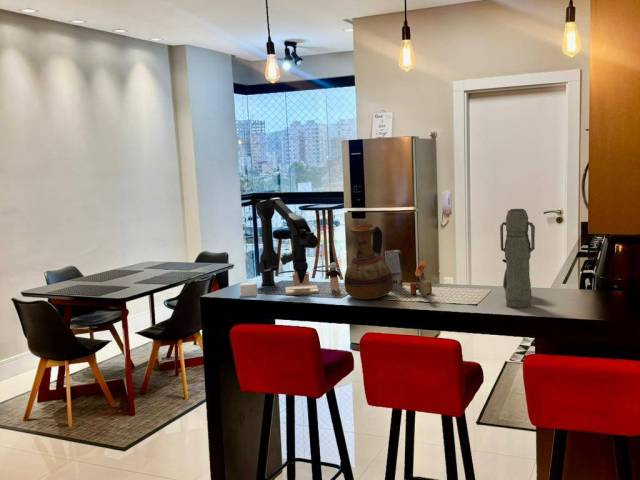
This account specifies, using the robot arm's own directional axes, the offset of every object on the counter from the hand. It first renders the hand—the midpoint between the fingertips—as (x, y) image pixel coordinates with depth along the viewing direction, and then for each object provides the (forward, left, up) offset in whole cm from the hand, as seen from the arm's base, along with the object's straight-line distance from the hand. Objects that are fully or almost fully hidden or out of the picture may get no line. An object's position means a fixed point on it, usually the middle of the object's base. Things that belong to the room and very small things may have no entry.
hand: (301, 282), depth 273 cm
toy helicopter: (+28, +48, -4) cm, 56 cm away
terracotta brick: (0, 0, -1) cm, 1 cm away
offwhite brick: (0, -23, -4) cm, 23 cm away
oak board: (0, 0, -4) cm, 4 cm away
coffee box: (+7, +40, -4) cm, 41 cm away
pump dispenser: (+38, +82, -4) cm, 91 cm away
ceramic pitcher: (+21, +27, -4) cm, 35 cm away
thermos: (+53, +77, -4) cm, 94 cm away
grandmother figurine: (+5, +14, -4) cm, 16 cm away
